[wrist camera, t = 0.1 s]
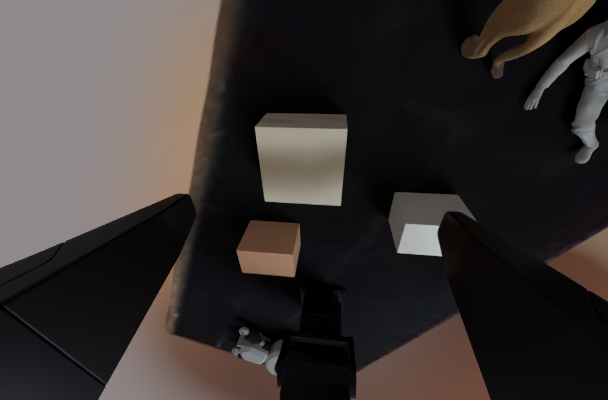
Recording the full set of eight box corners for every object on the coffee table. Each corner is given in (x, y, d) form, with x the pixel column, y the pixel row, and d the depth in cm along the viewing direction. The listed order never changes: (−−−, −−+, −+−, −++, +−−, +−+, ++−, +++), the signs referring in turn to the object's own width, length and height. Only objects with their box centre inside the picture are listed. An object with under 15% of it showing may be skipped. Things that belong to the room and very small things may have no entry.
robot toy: (236, 338, 50) (301, 363, 51) (226, 361, 47) (297, 388, 47) (246, 310, 43) (322, 339, 44) (235, 335, 40) (319, 366, 40)
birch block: (340, 182, 25) (340, 205, 22) (274, 179, 26) (264, 201, 22) (346, 113, 21) (347, 129, 17) (267, 112, 21) (254, 126, 18)
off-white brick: (445, 222, 26) (465, 257, 22) (388, 218, 26) (397, 252, 22) (457, 194, 24) (481, 228, 20) (394, 191, 24) (405, 223, 20)
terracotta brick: (300, 244, 30) (294, 277, 26) (255, 241, 31) (242, 272, 27) (299, 222, 28) (292, 254, 24) (250, 219, 29) (236, 250, 25)
